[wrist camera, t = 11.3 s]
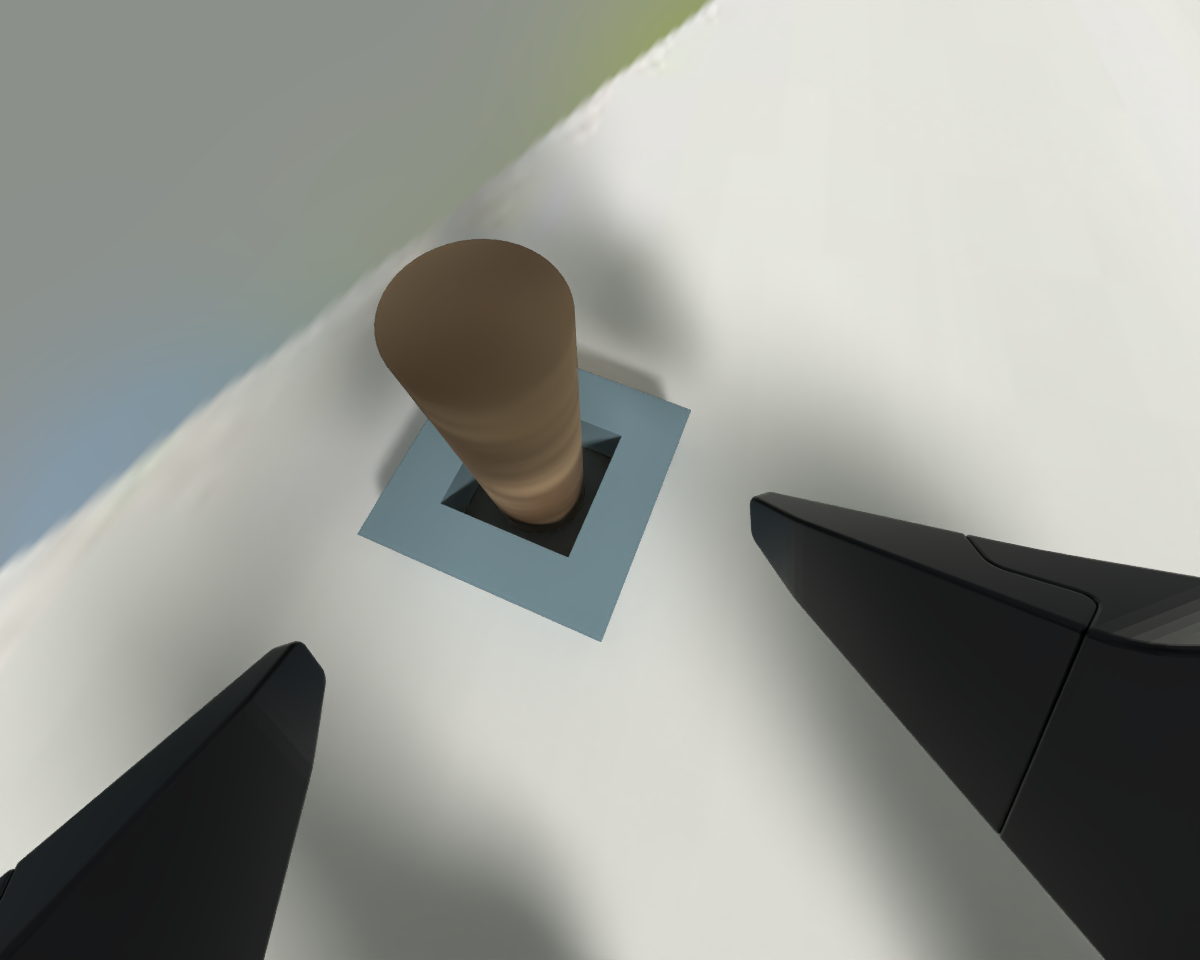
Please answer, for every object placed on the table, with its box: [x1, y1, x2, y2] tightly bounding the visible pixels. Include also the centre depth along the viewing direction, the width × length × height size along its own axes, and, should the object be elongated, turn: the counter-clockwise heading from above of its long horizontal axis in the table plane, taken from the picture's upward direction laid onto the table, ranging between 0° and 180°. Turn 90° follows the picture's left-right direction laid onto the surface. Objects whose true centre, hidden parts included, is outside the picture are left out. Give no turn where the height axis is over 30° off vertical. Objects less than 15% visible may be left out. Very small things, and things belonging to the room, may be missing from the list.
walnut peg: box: [374, 239, 584, 533], centre depth 16 cm, size 4×4×13 cm
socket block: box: [358, 368, 691, 642], centre depth 20 cm, size 11×11×3 cm
